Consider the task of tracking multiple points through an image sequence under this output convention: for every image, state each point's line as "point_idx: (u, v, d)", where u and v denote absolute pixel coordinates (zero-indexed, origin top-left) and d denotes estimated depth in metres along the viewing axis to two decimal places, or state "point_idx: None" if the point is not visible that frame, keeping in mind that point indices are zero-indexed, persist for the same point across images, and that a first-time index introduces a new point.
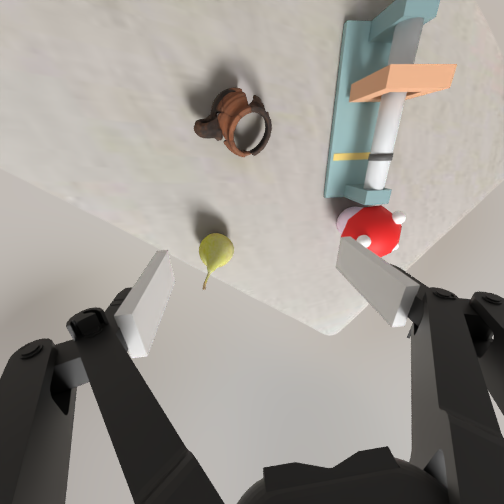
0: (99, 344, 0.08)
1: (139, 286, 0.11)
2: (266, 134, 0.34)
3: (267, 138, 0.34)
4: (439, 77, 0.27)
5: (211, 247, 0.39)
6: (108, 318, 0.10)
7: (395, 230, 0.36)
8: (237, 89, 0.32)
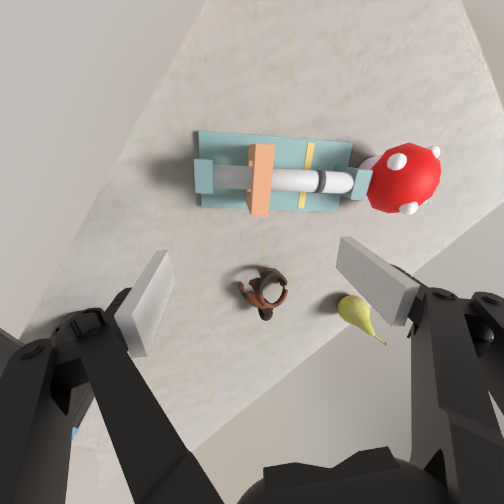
0: (99, 344, 0.08)
1: (139, 286, 0.11)
2: None
3: (277, 274, 0.42)
4: (265, 161, 0.26)
5: (351, 320, 0.48)
6: (108, 318, 0.10)
7: (413, 170, 0.29)
8: (241, 287, 0.45)
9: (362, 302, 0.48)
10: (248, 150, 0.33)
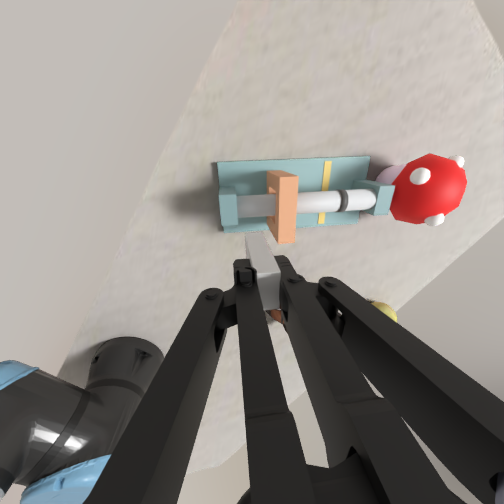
0: (248, 294, 0.10)
1: (255, 256, 0.14)
2: None
3: None
4: (289, 192, 0.27)
5: None
6: None
7: (438, 184, 0.29)
8: None
9: (388, 309, 0.47)
10: (267, 176, 0.34)
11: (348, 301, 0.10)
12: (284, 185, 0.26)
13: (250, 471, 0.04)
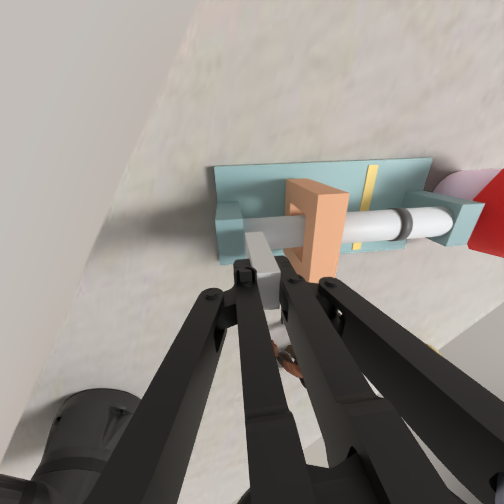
0: (248, 294, 0.10)
1: (255, 256, 0.14)
2: None
3: None
4: (332, 219, 0.16)
5: None
6: None
7: None
8: (275, 350, 0.35)
9: None
10: (287, 187, 0.23)
11: (348, 301, 0.10)
12: (324, 208, 0.16)
13: (250, 471, 0.04)
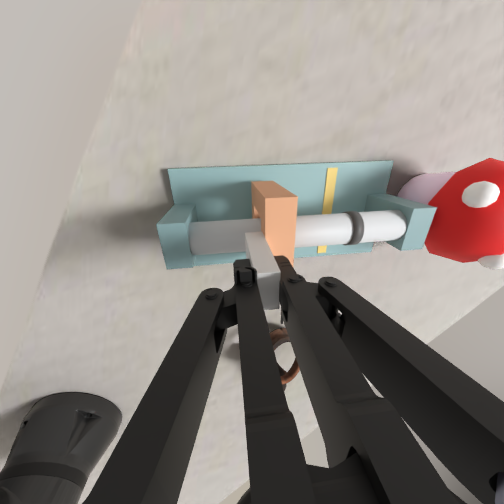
0: (248, 294, 0.10)
1: (255, 256, 0.14)
2: (284, 342, 0.32)
3: (287, 339, 0.32)
4: (282, 223, 0.16)
5: None
6: None
7: None
8: None
9: None
10: (251, 189, 0.23)
11: (348, 301, 0.10)
12: (273, 211, 0.16)
13: (250, 471, 0.04)
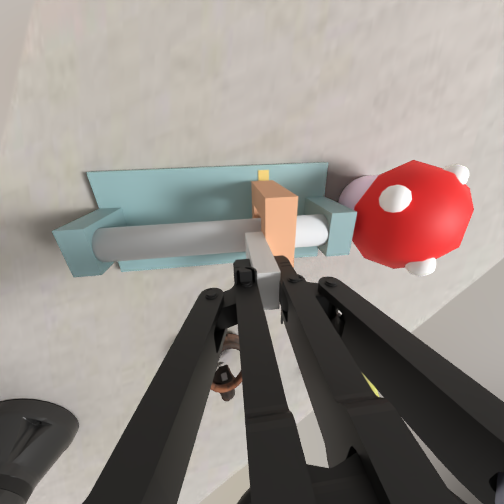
0: (248, 294, 0.10)
1: (255, 256, 0.14)
2: (226, 348, 0.31)
3: (230, 345, 0.31)
4: (282, 222, 0.16)
5: None
6: None
7: (424, 213, 0.17)
8: None
9: None
10: (252, 189, 0.23)
11: (348, 301, 0.10)
12: (273, 211, 0.15)
13: (250, 471, 0.04)
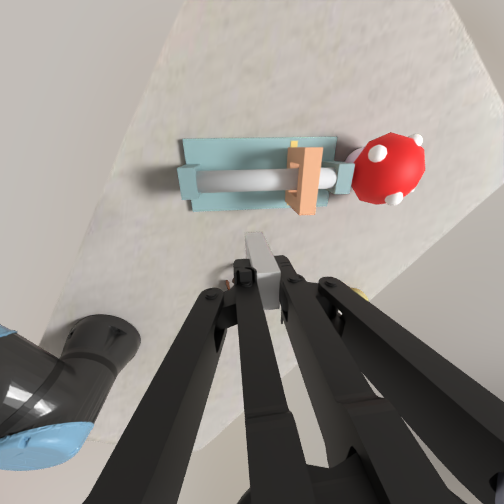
0: (247, 294, 0.10)
1: (255, 256, 0.14)
2: None
3: None
4: (313, 163, 0.28)
5: None
6: None
7: (394, 161, 0.29)
8: (227, 285, 0.46)
9: (360, 294, 0.48)
10: (288, 152, 0.35)
11: (348, 301, 0.10)
12: (309, 156, 0.28)
13: (250, 471, 0.04)
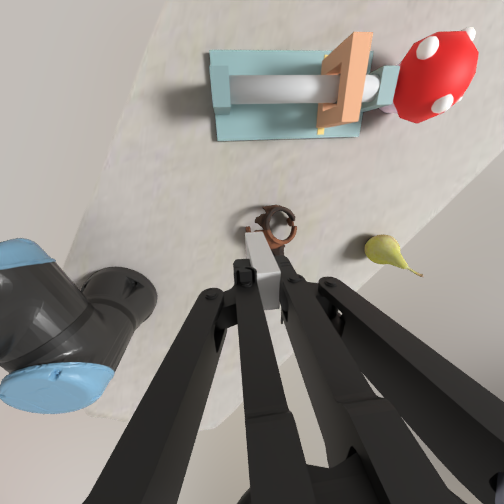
0: (248, 294, 0.10)
1: (255, 256, 0.14)
2: (281, 210, 0.40)
3: (283, 208, 0.40)
4: (361, 53, 0.26)
5: (381, 258, 0.45)
6: None
7: (447, 54, 0.27)
8: (248, 230, 0.43)
9: (391, 238, 0.45)
10: (323, 65, 0.33)
11: (348, 301, 0.10)
12: (357, 43, 0.25)
13: (250, 471, 0.04)
